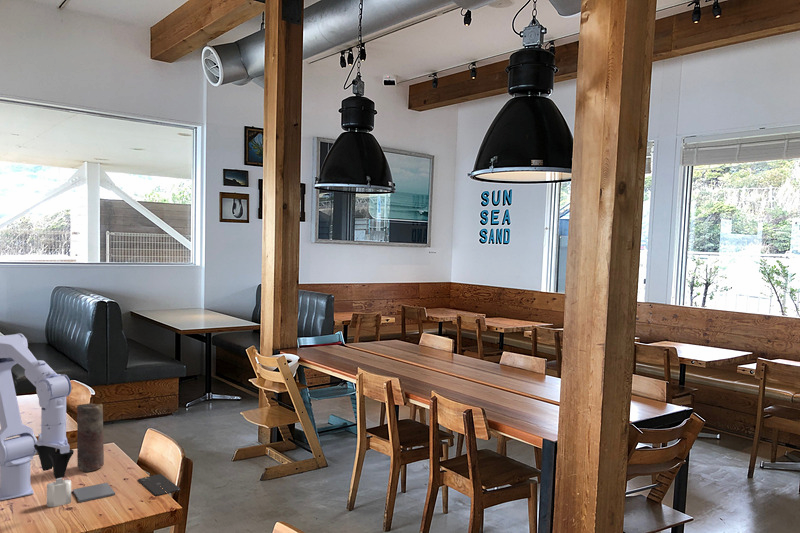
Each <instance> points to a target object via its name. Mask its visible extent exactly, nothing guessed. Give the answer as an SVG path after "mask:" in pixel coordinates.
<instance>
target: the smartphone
mask: <svg viewBox="0 0 800 533" xmlns="http://www.w3.org/2000/svg"><path fill="white" fill-rule="evenodd" d="M138 481H139V482H140V483H141V484H142V485H143V486H142V485H141V484H140V483H139V482H138ZM137 482H138V483H139V484H140V485H141V486H142V487H144V488H145V489H146V490H147V491H149V493H151V495H153V496H154V497H159V496H161V497H162V496H164V495H168V494H173V493H176V492H179V491H181V488H180V487H179V486H178V485H176V484H175V483H174V482H173V481H171V480H170V479H168V478H167V476H165V475H163V474H161V473H158V474H154V475H150V476H145V477H141V478H138V479H137ZM160 486H161V487H160ZM162 488H163V489H162ZM165 491H166V492H167V493H166V492H165Z"/></svg>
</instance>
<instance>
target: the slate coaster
mask: <svg viewBox="0 0 800 533" xmlns="http://www.w3.org/2000/svg"><path fill="white" fill-rule="evenodd" d="M72 493H73V494H74V496H75V498H76V499H77V501H78V502H79V503H84V502H89V501H94V500H98V499H102V498H103V499H105V498H108V497H112V496H115V495H116V492H115V490H113V487H111V485H110V484H109V483H108V482H102V483H98V484H94V485H93V484H92V485H87V486H83V487H79V488H78V487H77V488H72Z"/></svg>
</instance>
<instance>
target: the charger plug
mask: <svg viewBox="0 0 800 533" xmlns="http://www.w3.org/2000/svg"><path fill="white" fill-rule="evenodd" d="M70 503H72V480H71V479H63V477H62V478H58V479H55V481H52V482H49V483H47V484H46V507H47V508H54V507H55V508H56V507H60V506H64V505H68V504H70Z"/></svg>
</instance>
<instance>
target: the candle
mask: <svg viewBox="0 0 800 533" xmlns="http://www.w3.org/2000/svg"><path fill="white" fill-rule="evenodd" d="M103 407H104V406H103V404H102V403H98V404H96V403H84V404H83V403H82V404H77V405H76V415H77V416H76V421H77V422H76V423H77V425H76V426H77V428H76V429H77V432H76V433H77V434H76V435H77V437H76V438H77V446H76V447H77V451H76V452H77V456H76V457H77V459H76V460H77V469H79V470H80V471H82V472H85V473H88V472H89V473H90V472H92V471H96V470H99V469H100V468H101V467H103V466H104V464H105V456H104V455H105V454H104V449H105V448H104V410H103V409H104V408H103Z"/></svg>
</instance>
